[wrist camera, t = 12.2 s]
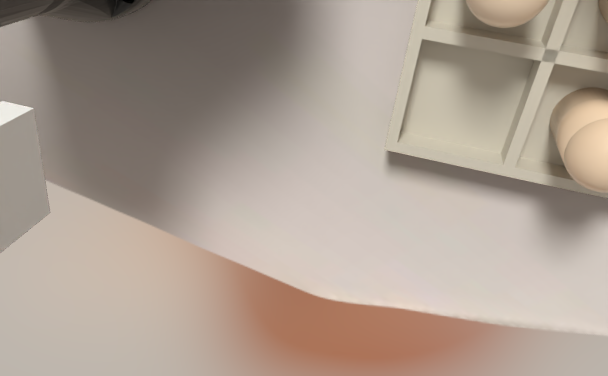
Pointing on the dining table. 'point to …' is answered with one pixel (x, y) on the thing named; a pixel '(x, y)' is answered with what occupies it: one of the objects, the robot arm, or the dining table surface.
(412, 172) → the dining table surface
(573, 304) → the dining table surface
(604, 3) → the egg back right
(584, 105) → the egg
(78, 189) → the dining table surface
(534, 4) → the beige domed cylinder
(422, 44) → the egg tray
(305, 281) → the dining table surface
